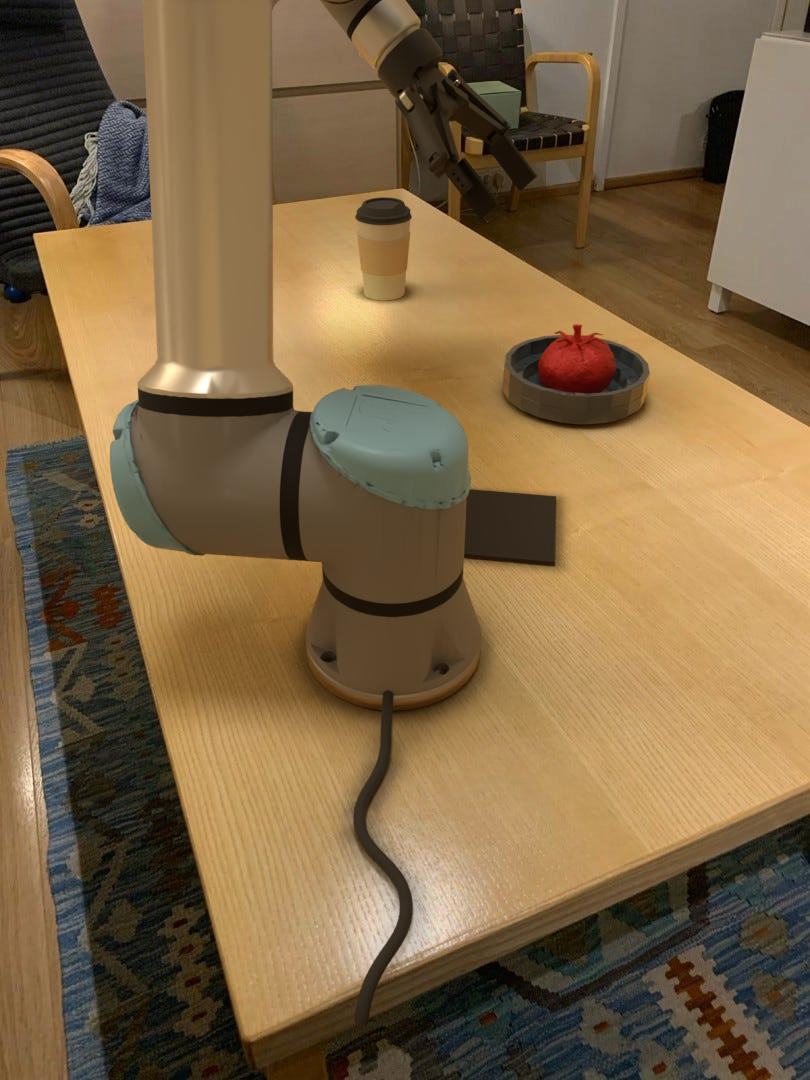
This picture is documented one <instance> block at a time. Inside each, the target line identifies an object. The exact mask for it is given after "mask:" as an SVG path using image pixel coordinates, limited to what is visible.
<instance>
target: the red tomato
mask: <svg viewBox="0 0 810 1080" xmlns="http://www.w3.org/2000/svg"><path fill="white" fill-rule="evenodd" d="M582 327H583V324H577V323H575V324H573V325H572V330H573V335H574V336H570V335H571V334H567V333H566V332H564V331H563V330H558V331H553V333H554V335H563V336H564V337H560V338H558V339H556V341H554V342H552V343H551V344H550V345H549V346H548V347H547V348H546V350H545V352H544V353H543V355H542V356H541V357H540V360H539V362H538V373H539V380H540V383H541V385H542V386H543V387H544V388H549V389H554V390H559V391H563V392H572V393H586V394H591V393H600V392H602V391H603V390H605V389H606V388H607V386H608V385H609V384H610V382H611V381H612V379H613V376H614V374H615V371H616V364H615V359H614V355H613V353H612V351H611V350H610V347H609V345H608V344H607V343H606V342H605V341H604V340H602V339H603V338H599V337H597V336H596V335H599V336H603V334H601V333H599V332H593V333H590V334H587V335H586V334H585V335H584V334H583V335H582Z"/></svg>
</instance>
